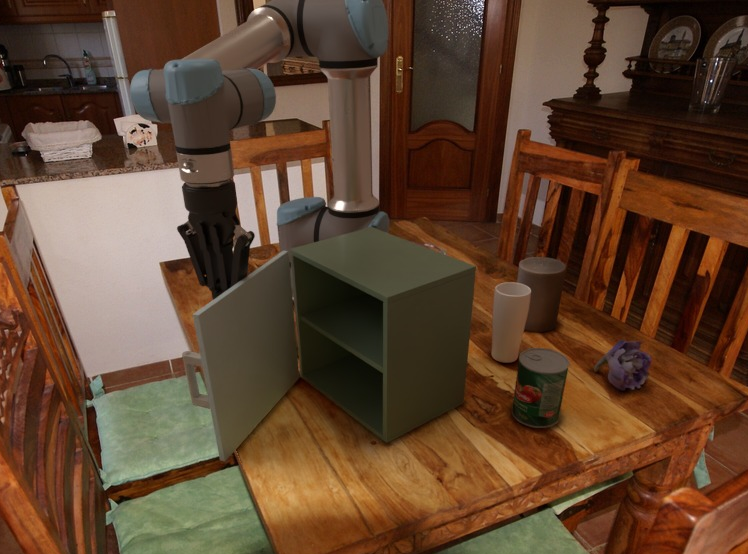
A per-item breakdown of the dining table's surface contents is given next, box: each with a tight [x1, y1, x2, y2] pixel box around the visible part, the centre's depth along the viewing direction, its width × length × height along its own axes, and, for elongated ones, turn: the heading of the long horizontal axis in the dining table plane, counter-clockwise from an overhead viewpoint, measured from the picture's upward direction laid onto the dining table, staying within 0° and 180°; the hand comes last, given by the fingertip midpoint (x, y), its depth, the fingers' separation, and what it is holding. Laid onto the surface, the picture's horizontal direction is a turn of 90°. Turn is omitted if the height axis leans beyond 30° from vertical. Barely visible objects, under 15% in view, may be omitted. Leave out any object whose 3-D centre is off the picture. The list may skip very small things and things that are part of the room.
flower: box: [593, 339, 652, 391], centre depth 105 cm, size 9×9×10 cm
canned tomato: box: [511, 347, 570, 429], centre depth 96 cm, size 8×8×11 cm
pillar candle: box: [516, 256, 567, 333], centre depth 125 cm, size 10×10×15 cm
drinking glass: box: [490, 281, 531, 364], centre depth 112 cm, size 7×7×15 cm
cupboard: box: [290, 227, 477, 444], centre depth 100 cm, size 18×26×26 cm
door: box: [181, 251, 300, 463], centre depth 95 cm, size 6×26×26 cm, turn 158°
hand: (228, 327), depth 94 cm, fingers closed
